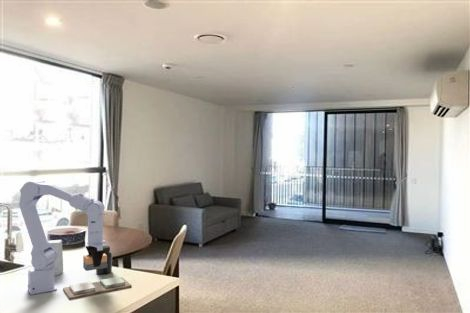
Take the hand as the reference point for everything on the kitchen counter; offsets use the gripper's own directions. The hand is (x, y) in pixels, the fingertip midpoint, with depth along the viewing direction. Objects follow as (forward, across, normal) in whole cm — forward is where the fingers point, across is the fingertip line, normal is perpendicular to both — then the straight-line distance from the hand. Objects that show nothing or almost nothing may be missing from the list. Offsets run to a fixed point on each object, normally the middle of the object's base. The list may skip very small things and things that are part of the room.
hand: (95, 264), depth 154 cm
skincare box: (+10, +31, +11) cm, 34 cm away
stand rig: (+10, 0, -1) cm, 10 cm away
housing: (+1, 0, 0) cm, 1 cm away
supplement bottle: (+10, +19, -9) cm, 23 cm away
